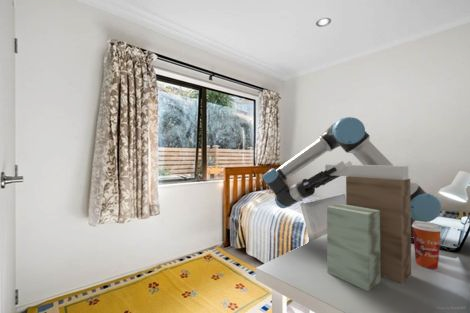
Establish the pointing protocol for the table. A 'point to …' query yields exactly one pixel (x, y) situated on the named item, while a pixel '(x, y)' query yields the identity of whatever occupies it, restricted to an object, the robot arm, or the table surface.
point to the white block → (373, 171)
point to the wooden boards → (370, 232)
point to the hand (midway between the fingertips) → (347, 164)
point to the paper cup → (426, 243)
